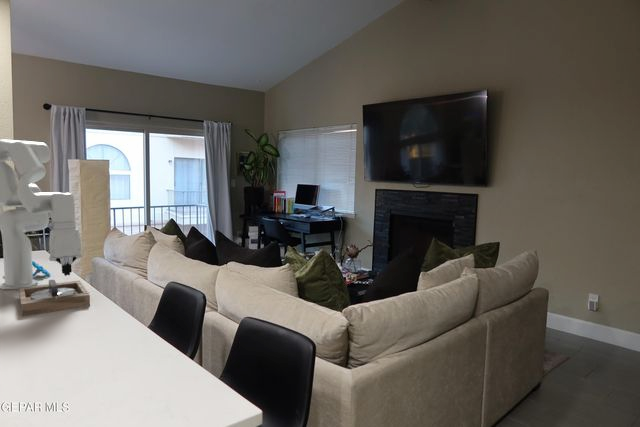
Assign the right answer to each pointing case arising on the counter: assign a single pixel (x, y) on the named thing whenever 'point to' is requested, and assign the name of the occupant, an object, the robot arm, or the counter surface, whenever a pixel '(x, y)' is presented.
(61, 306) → the dial panel
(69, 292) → the dial
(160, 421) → the counter surface
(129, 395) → the counter surface
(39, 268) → the gear
